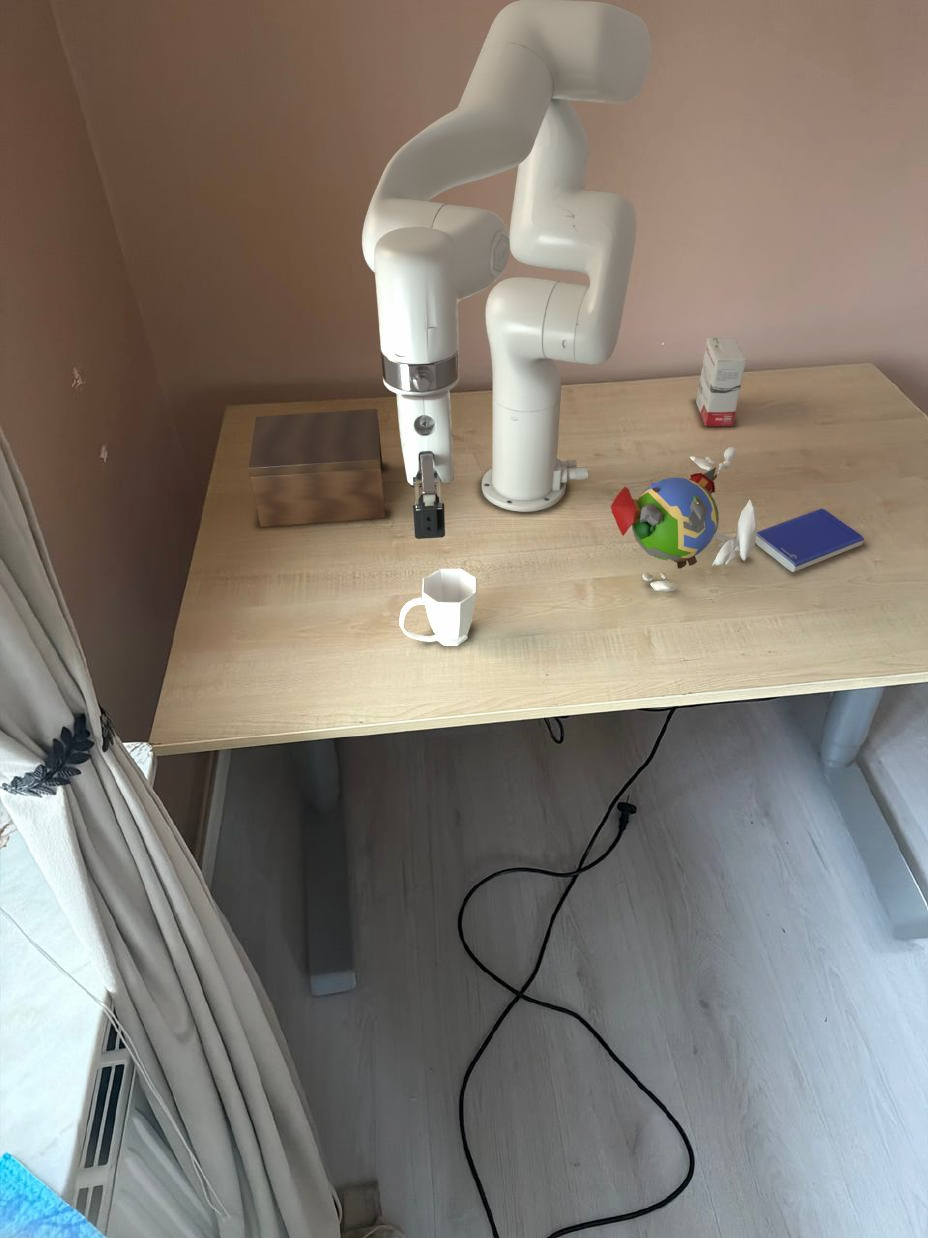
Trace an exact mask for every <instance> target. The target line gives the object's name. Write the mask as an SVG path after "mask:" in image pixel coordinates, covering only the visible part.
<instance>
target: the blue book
mask: <svg viewBox="0 0 928 1238" xmlns="http://www.w3.org/2000/svg"><path fill="white" fill-rule="evenodd" d="M864 541H865V538H864V536H863V535H861V534H860V533H859V532H858V531H856V530H855V529H853V528H851V527H850V526H849V525H848V524H846V523H845V522H843V521H842V520H841V519H839V518H838V517H837V516H835V515H833V514H832V513H830V511H827V509H825V508H817V509H816V510H813V511H810V512H808V513H806V514H802V515H800V516H797V517H794V518H792V519H789V520H786V521H783V522H780V523H777V524H775V525H772V526H770V527H767V528H764V529H762V530H759V531H757V535H756V541H755V545H757V546H758V547H759V548H761V550H763V551H764V552H766V553H767V554H768V555H769V556H771V557H772V558H773V559H775V560H776V561H777V562H778V563H780V564H781V565H782V566H783V567H784V568H786V569H787V570H788V571H789V572H791V573H795V572H798V571H801V570H802V569H803V570H804V569H805V568H808V567H810V566H813V565H815V564H817V563H820V562H822V561H825V560H827V559H830V558H832V557H835V556H837V555H840V554H842V553H845V552H848V551H850V550H852V549H855V548H857V547H860V546H862V545H863V543H864Z"/></svg>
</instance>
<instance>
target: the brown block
mask: <svg viewBox="0 0 928 1238" xmlns="http://www.w3.org/2000/svg"><path fill="white" fill-rule="evenodd" d="M378 413H379V411H378V408H370V409H355V410H354V409H353V410H339V411H337V410H336V411H324V412H305V413H292V414H277V415H276V414H274V415H263V416H262V415H261V416H259V415H258V416H255V421H254V426H253V435H252V441H251V448H250V454H249V461H248V469H247V470H248V473H249V478H250V483H251V489H252V492H253V497H254V503H255V507H256V512H257V516H258V520H259V526H260V527H261V528H264V527H278V526H279V527H281V526H292V525H295V526H296V525H306V524H321V523H334V522H349V521H350V522H351V521H363V520H365V521H366V520H377V519H386V508H385V498H384V497H385V495H384V486H383V475H382V471H383V470H384V467H383V465H384V464H383V455H382V445H381V432H380V423H379V414H378Z"/></svg>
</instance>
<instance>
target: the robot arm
mask: <svg viewBox="0 0 928 1238" xmlns="http://www.w3.org/2000/svg"><path fill="white" fill-rule="evenodd" d="M651 61H652V40H651V35H650V32H649V29H648V26H647V24H646V22H645V21H644V20H643V19H642V17H641V16H639V15H638V14H635V13H633V12H630V11H628V10H626V9H624V8H622V7H620V6H616V5H614V4H610V3H608V2H602V1H601V2H600V1H589V0H516V1H513V2H511V3H509V4H507V5H506V6H504V7H503V8H502V9H501V10H500V11H499V12H498V14H497V15H496V16H495V18H494V19H493V22H492V23H491V26H490V28H489V30H488V33H487V35H486V38H485V40H484V42H483V45H482V48H481V50H480V52H479V55H478V56H477V60H476V62H475V64H474V67H473V70H472V71H471V74H470V76H469V79H468V81H467V84H466V86H465V89H464V90H463V94H462V96H461V98H460V100H459V101H460V102H459V103H458V106H457V107H456V108H455V109H453V110H452V111H449V112H448V113H446V114H445V115H443V116H441V117H439V118H438V119H437V120H435V121H434V122H432V123H431V124H430V125H428V126H426V127H424V129H423V130H422V131H420V132H419V133H417V134H416V135H415V136H414V137H412V138H410V139H409V140H408V141H407V142H406V143H405V144H404V145H402V146H401V147H400V148H399V149H398V150H397V151H396V152H395V154H394V155H393V156H392V157H391V158H390V159H389V161H388V162H387V164H386V166H385V168H384V170H383V172H382V175H381V177H380V179H379V181H378V184H377V186H376V188H375V190H374V193H373V195H372V198H371V200H370V201H369V205H368V209H367V211H366V215H365V218H364V222H363V226H362V234H361V247H362V248H361V249H362V255H363V258H364V260H365V263H366V264H367V266H368V268H369V269H370V271H372V272H373V273H374V278H375V279H374V280H375V291H376V304H377V305H376V306H377V315H378V329H379V330H378V331H379V341H380V342H379V343H380V357H381V370H382V381H383V385H384V386H385V388H386V389H388V390H389V391H391V392H392V393H394V394H396V406H397V407H396V408H397V417H398V427H399V436H400V444H401V451H402V457H403V463H404V468H405V475H406V479H407V483H409V484H410V486H411V488H413V489H414V501H415V502H414V504H413V505H412V511H413V512H412V513H413V529H414V538H415V539H417V540H424V539H425V540H426V539H439V538H444V537H445V536H446V520H445V519H446V518H445V503H443V497H442V496H443V495H442V483H443V484H452V483H453V482H454V480H455V474H454V473H455V471H454V448H453V420H452V401H451V392H450V390H452V389H454V388H455V387H456V386H457V385H458V384H459V382H460V347H459V344H460V343H459V342H460V340H459V339H460V338H459V336H460V335H459V302H460V301H463V300H465V299H467V298H469V297H472V296H474V295H477V294H479V293H481V292H483V291H486V290H487V289H488V288H489V287H491V286H492V285H493V284H494V283H495V282H497V280H498V279H499V277H500V276H501V275H502V273H503V272H504V271H505V269H506V268H507V265H508V262H509V258H510V253H511V255H512V257H513V258H514V259H515V260H516V261H518V262H519V263H522V264H524V265H528V266H530V267H531V266H532V267H536V268H543V269H550V270H556V271H565V272H572V273H578V274H584V275H586V276H587V277H588V279H589V285H587V284H586V285H585V284H578V283H571V282H565V281H564V282H563V281H559V280H551V279H545V278H537V277H529V276H528V277H527V276H516V277H515V276H514V277H509V278H506V279H503V280H501V281H499V282H498V283H497V284H496V285H495V286H493V287H492V289H491V290H490V292H489V294H488V296H487V299H486V303H485V310H484V311H485V314H484V315H485V316H484V317H485V319H484V320H485V327H486V334H487V338H488V345H489V348H490V349H489V350H490V358H491V370H492V372H491V373H492V375H491V376H492V377H491V378H492V419H491V420H492V424H491V425H492V426H491V427H492V431H491V432H492V435H491V436H492V437H491V438H492V439H491V440H492V442H491V444H492V446H491V449H492V450H491V454H492V455H491V458H492V459H491V467H490V468H489V469H488V470H487V471H486V472H484V474H483V476H482V479H481V491H482V494H483V496H484V497H485V498H486V500H487V501H489V502H490V503H491V504H492V505H494V506H497V507H498V508H500V509H504V510H507V511H512V512H520V513H526V512H527V513H529V512H530V513H531V512H538V511H543V510H546V509H548V508H550V507H552V506H554V505H555V504H557V503H558V502H560V501H561V500H562V499H563V497H564V496H565V494H566V488H567V487H566V485H567V482H568V481H580V480H581V481H582V480H588V479H589V468H588V466H585V465H584V466H577V464H578V463H577V460H576V459H568V460H561V459H560V458H558V447H559V433H560V432H559V431H560V417H561V416H560V414H561V400H562V399H561V398H562V380H561V376H560V372H559V370H558V367H557V364H556V363H555V361H561V362H568V363H574V364H581V365H590V366H597V365H602V364H604V363H605V362H607V361H608V360H609V359H610V358H611V357H612V355H613V353H614V351H615V348H616V345H617V342H618V339H619V334H620V329H621V324H622V319H623V314H624V313H623V312H624V308H625V303H626V302H625V301H626V297H627V291H628V286H629V281H630V275H631V270H632V264H633V258H634V253H635V246H636V240H637V239H636V238H637V214H636V210H635V206H634V204H633V203H632V202H631V200H629V199H628V198H627V197H625V196H624V195H623V194H619V193H615V192H610V191H609V192H608V191H600V190H599V191H598V190H591V189H586V187H585V182H586V175H587V171H588V170H587V169H588V163H589V158H590V152H591V151H590V150H591V149H590V148H591V147H590V140H589V137H588V133H587V131H586V129H585V127H584V125H583V122H582V120H581V118H580V117H579V115H578V113H577V111H576V110H575V109H574V107H573V105H572V104H571V102H570V101H572V102H573V101H575V102H588V103H599V104H600V103H601V104H611V105H627V104H629V103H631V102H632V101H634V100H635V99H636V98H637V97H638V96H639V94H640V93H641V91H642V89H643V88H644V86H645V84H646V81H647V79H648V76H649V71H650V67H651ZM515 167H517V171H516V172H517V174H516V180H515V188H514V195H513V202H512V208H511V216H510V224H509V225H510V226H509V230H508V227H507V225H506V223H505V222H504V220H503V219H502V218H501V217H500V216H499V215H497V214H496V213H494V212H493V211H491V210H488V209H485V208H480V207H473V206H465V205H458V204H457V205H456V204H450V203H444V202H436V201H431V200H432V199H433V198H435V197H437V196H438V195H440V194H442V193H443V192H445V191H448V190H450V189H452V188H455V187H457V186H462V185H465V184H468V183H472V182H476V181H480V180H483V179H486V178H488V177H492V176H496V175H498V174H501V173H504V172H507V171H509V170H511V169H514V168H515ZM554 360H555V361H554ZM420 488H421V489H422V494H421V492H420V491H421V490H420Z"/></svg>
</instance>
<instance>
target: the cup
mask: <svg viewBox="0 0 928 1238" xmlns="http://www.w3.org/2000/svg"><path fill="white" fill-rule="evenodd" d="M477 593H478V578H477V577H476V576H474V575H473V574H471V573H470V572H468V571H466V570H465V569H464V568H460V567H459V568H458V567H456V568H454V567H451V568H448V567H447V568H445V567H441V568H440V567H439V568H437V569H436V570H434V571H433V572H431V573H430V574H428V575H426V576H425V577H423V578H422V587H421V596H419V597H416V598H413V599H410V600H409V601H407V602H406V603H405V605H404V606H403V607H402V608H401V610H400V614H399V623H398V624H399V627H400V629H401V631H402V632H403V635H405V636H407V637H408V638H410V639H412V640H416V641H421V642H428V643H429V642H430V643H434V642H439V644H441V645H443V646H444V647H445V646H446V647H448V646H449V647H450V646H451V647H453V646H454V647H458V646H460V645H462V644H463V643H464V642H465V641H467V640H468V638H469V631H470V628H471V625H472V621H473V617H474V611H475V605H476V601H477V595H478V594H477ZM421 605H422V606H425V610H426V614H427V618H428V622H429V624H430V627H431V629H432V631H433V633H434V634H433V635H423V634H418V633H415V632H412V631H409V630H407V629H405V627H404V625H405V624H404V623H405V618H406V614H407V613H408V612H409V611H410V610H411V608H413V607H415V606H421Z"/></svg>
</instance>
